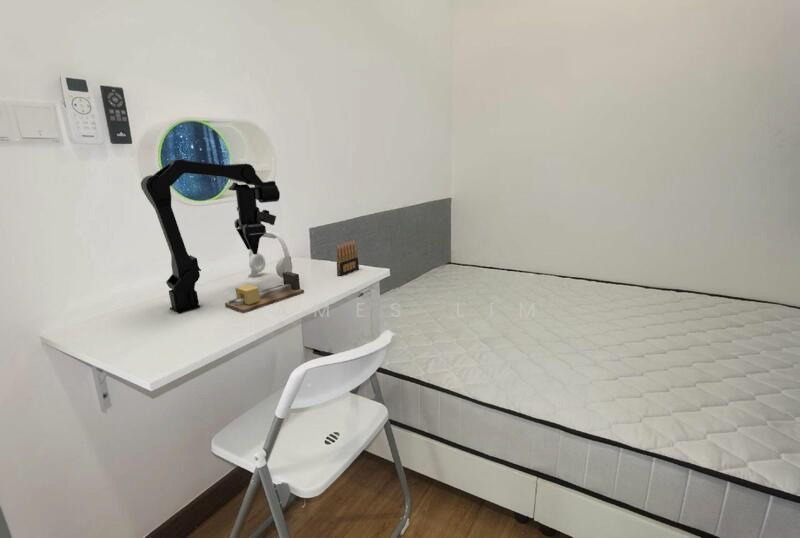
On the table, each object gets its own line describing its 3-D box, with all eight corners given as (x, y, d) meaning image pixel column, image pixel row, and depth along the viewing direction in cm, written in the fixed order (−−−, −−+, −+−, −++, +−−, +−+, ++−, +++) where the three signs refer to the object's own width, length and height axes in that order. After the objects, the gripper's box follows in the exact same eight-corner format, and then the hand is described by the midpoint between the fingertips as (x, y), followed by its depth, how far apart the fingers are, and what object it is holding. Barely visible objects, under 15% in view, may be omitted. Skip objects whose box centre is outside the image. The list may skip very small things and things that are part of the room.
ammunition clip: (355, 268, 163) (353, 238, 160) (359, 269, 162) (357, 239, 158) (337, 275, 154) (334, 244, 151) (340, 276, 153) (338, 244, 150)
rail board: (243, 313, 120) (240, 293, 118) (225, 306, 126) (222, 287, 124) (304, 292, 136) (302, 275, 135) (285, 287, 142) (283, 270, 141)
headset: (297, 279, 151) (292, 231, 147) (282, 284, 146) (276, 234, 141) (262, 272, 162) (256, 227, 157) (246, 277, 157) (240, 230, 152)
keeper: (248, 304, 123) (246, 291, 122) (237, 300, 127) (235, 287, 126) (260, 300, 126) (258, 287, 125) (249, 297, 130) (247, 284, 129)
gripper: (280, 204, 129) (284, 253, 133) (265, 200, 144) (269, 244, 148) (242, 207, 123) (248, 258, 127) (231, 202, 139) (237, 248, 143)
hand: (252, 251), depth 137 cm, fingers open, 9 cm apart
